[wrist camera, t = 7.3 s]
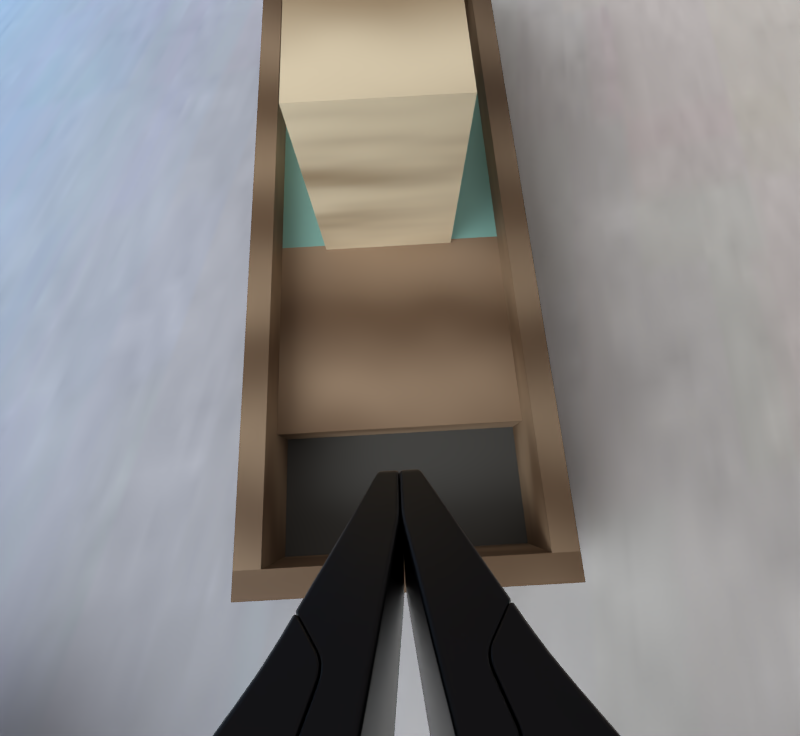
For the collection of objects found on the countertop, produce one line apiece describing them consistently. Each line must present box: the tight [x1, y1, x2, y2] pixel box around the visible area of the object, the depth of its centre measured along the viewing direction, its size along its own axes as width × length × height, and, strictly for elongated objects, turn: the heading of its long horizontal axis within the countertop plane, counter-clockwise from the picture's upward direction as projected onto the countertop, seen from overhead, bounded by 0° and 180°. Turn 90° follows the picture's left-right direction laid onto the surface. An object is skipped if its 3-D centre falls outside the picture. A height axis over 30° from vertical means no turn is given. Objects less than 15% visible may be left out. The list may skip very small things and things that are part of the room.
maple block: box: [279, 0, 477, 250], centre depth 18 cm, size 9×6×8 cm, turn 3°
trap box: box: [231, 0, 585, 602], centre depth 21 cm, size 31×12×4 cm, turn 3°
